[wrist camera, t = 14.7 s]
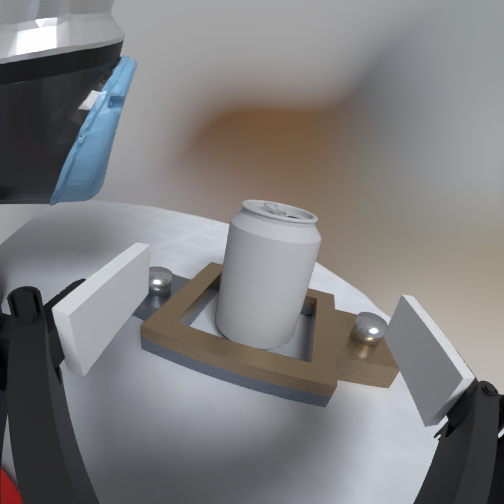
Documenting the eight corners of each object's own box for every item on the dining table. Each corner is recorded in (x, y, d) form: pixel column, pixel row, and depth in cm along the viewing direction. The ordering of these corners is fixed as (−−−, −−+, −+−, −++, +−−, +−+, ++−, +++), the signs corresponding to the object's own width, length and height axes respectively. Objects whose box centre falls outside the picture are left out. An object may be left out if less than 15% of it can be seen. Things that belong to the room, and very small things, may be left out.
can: (242, 366, 21) (275, 219, 17) (200, 317, 26) (217, 193, 22) (307, 342, 25) (344, 221, 21) (261, 304, 31) (284, 198, 27)
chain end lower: (89, 322, 21) (85, 293, 20) (167, 267, 35) (168, 245, 34) (325, 406, 18) (340, 380, 17) (327, 312, 32) (335, 290, 31)
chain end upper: (142, 348, 20) (140, 305, 19) (208, 279, 34) (213, 248, 33) (393, 416, 17) (420, 380, 15) (373, 323, 31) (385, 292, 29)
